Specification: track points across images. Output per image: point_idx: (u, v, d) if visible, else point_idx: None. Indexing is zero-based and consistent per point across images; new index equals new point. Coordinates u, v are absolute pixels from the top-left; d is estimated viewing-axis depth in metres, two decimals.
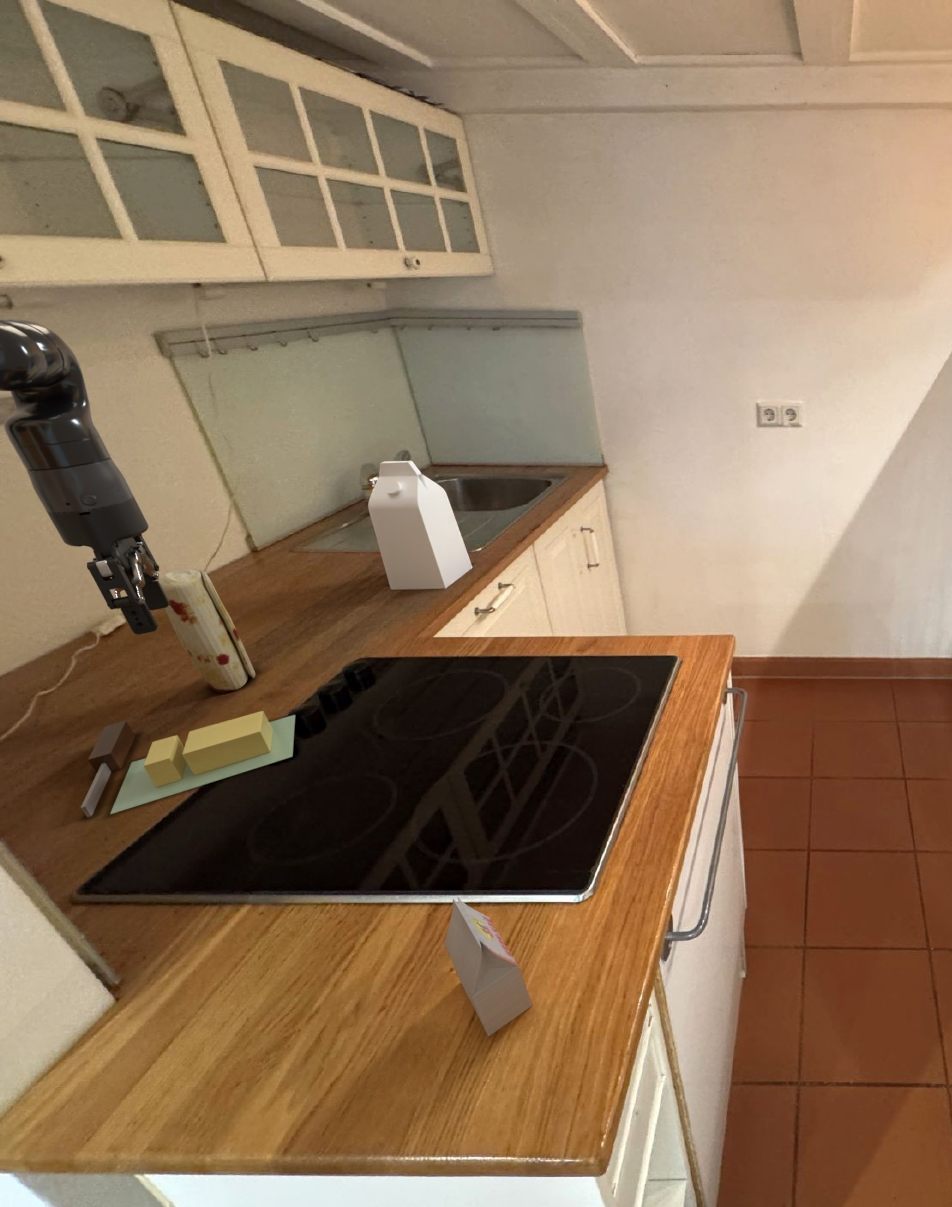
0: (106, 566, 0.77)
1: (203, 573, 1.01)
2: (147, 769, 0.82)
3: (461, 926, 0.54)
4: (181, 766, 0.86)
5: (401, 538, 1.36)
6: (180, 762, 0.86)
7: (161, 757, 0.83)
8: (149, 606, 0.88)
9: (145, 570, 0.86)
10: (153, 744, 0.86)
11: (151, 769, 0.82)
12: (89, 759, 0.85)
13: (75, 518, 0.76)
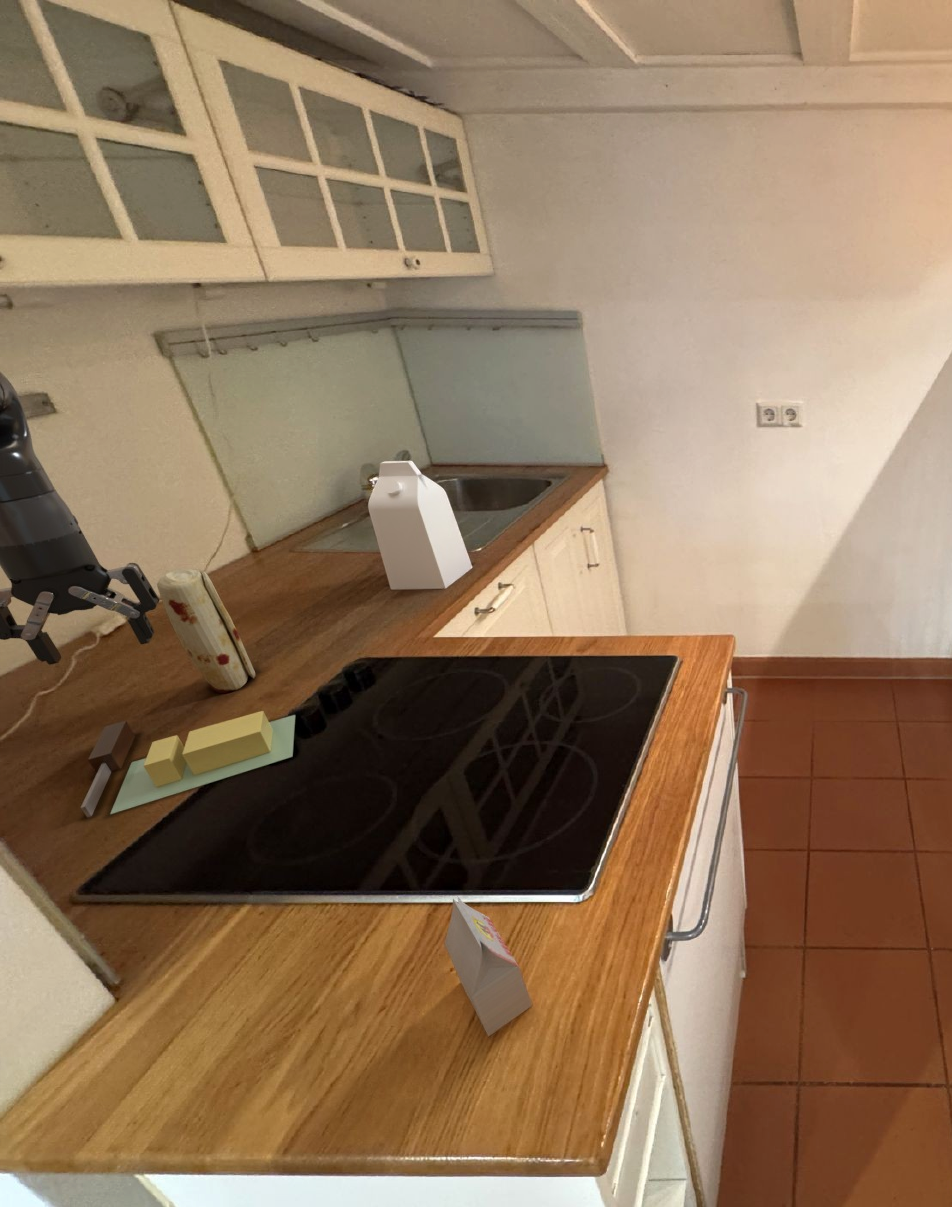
0: (137, 568, 0.84)
1: (203, 573, 1.01)
2: (147, 769, 0.82)
3: (461, 926, 0.54)
4: (181, 766, 0.86)
5: (401, 538, 1.36)
6: (180, 762, 0.86)
7: (161, 757, 0.83)
8: (55, 659, 0.82)
9: (48, 615, 0.82)
10: (153, 744, 0.86)
11: (151, 769, 0.82)
12: (89, 759, 0.85)
13: (78, 537, 0.80)
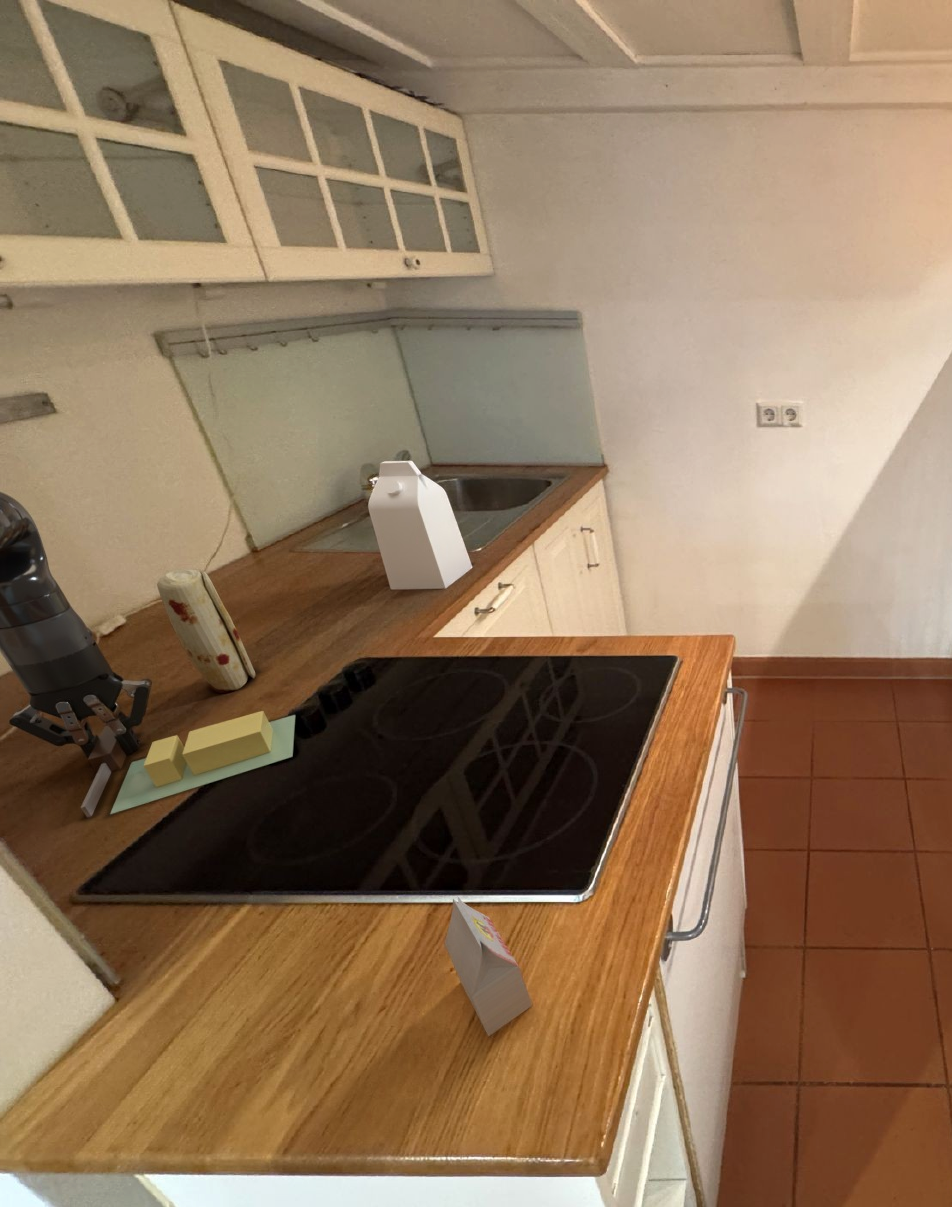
0: (150, 686, 0.90)
1: (203, 573, 1.01)
2: (147, 769, 0.82)
3: (461, 926, 0.54)
4: (181, 766, 0.86)
5: (401, 538, 1.36)
6: (180, 762, 0.86)
7: (161, 757, 0.83)
8: None
9: (85, 718, 0.87)
10: (153, 744, 0.86)
11: (151, 769, 0.82)
12: (89, 759, 0.85)
13: (92, 649, 0.84)
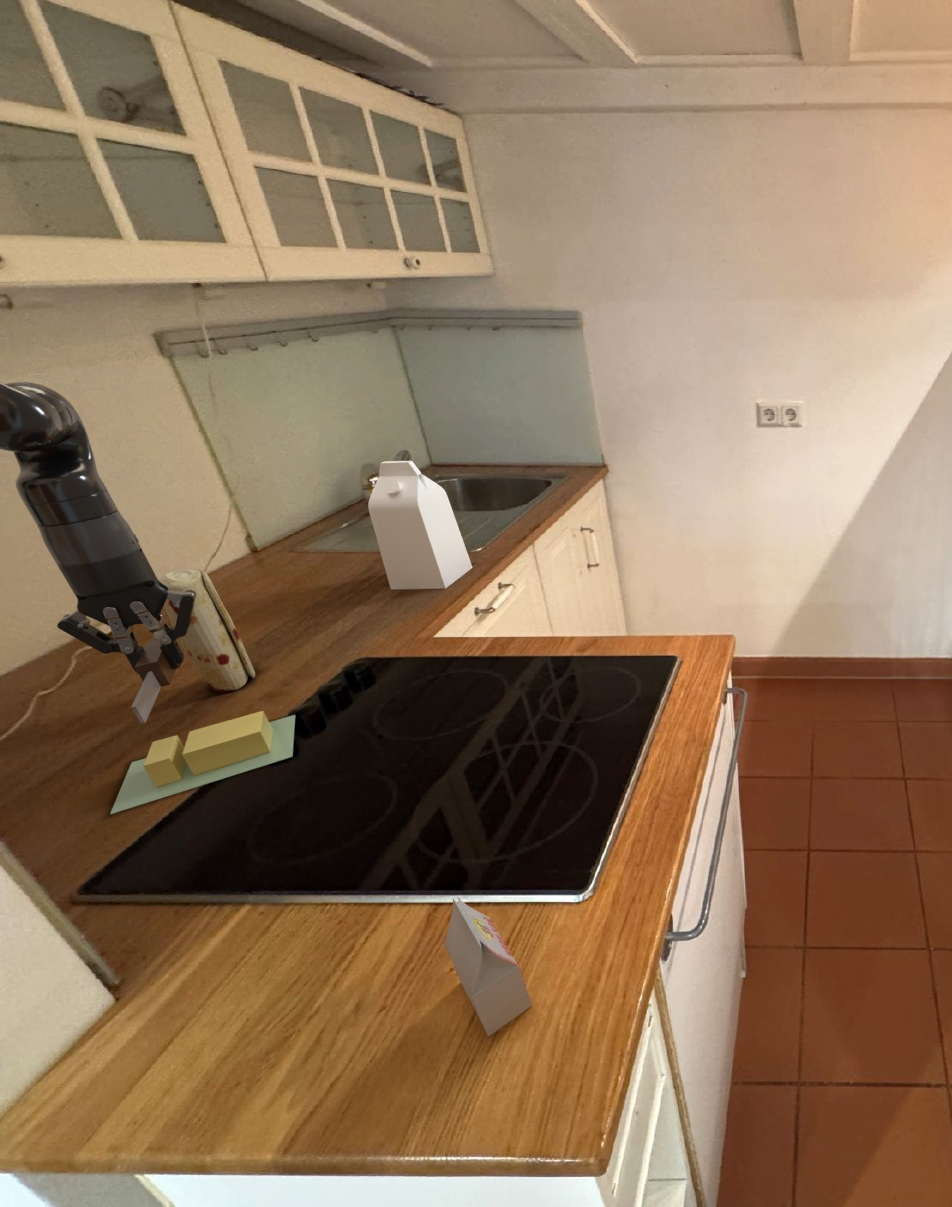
0: (194, 598, 0.89)
1: (203, 573, 1.01)
2: (147, 769, 0.82)
3: (461, 926, 0.54)
4: (181, 766, 0.86)
5: (401, 538, 1.36)
6: (180, 762, 0.86)
7: (161, 757, 0.83)
8: None
9: (131, 627, 0.87)
10: (153, 744, 0.86)
11: (151, 769, 0.82)
12: (136, 666, 0.84)
13: (139, 555, 0.83)
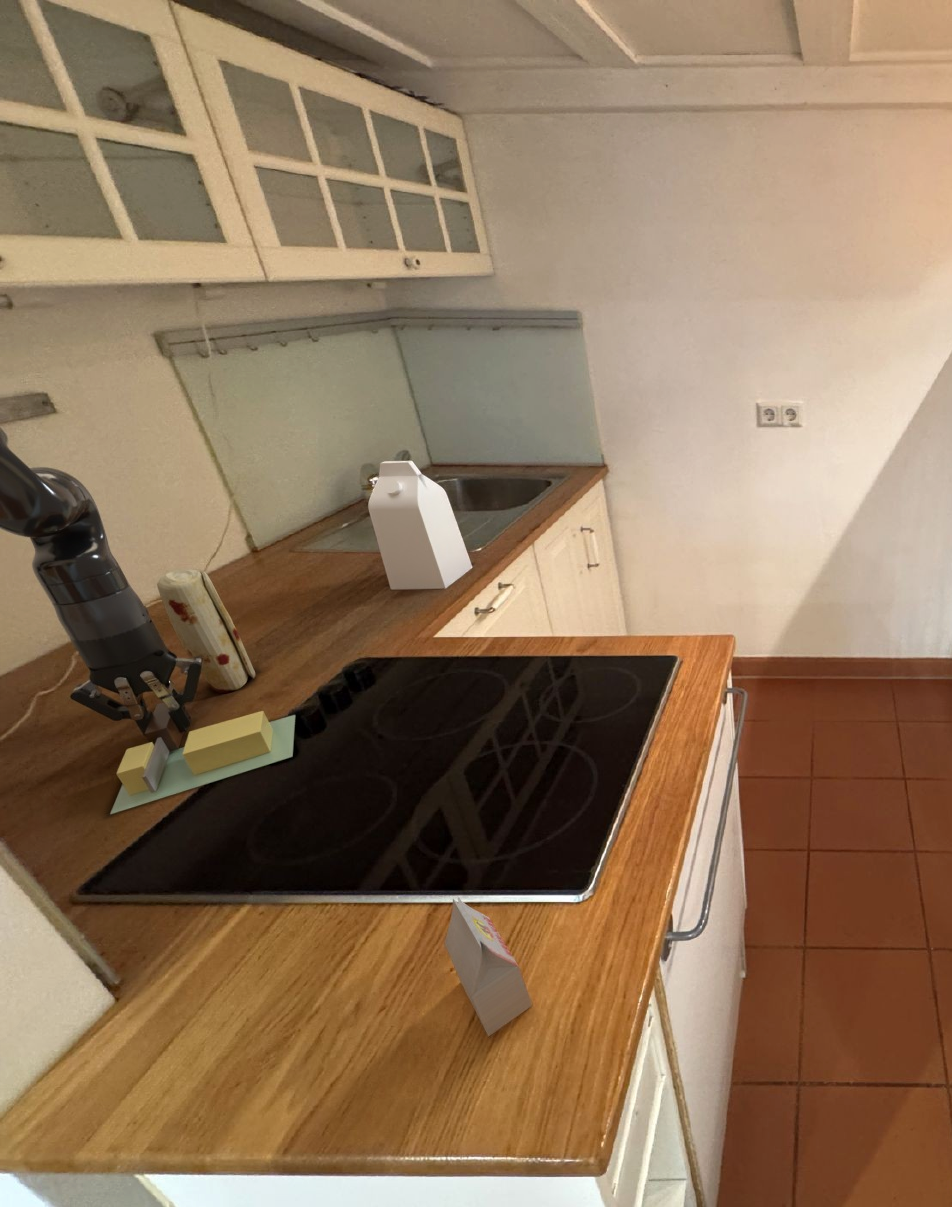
0: (202, 664, 0.92)
1: (203, 573, 1.01)
2: (120, 777, 0.81)
3: (461, 926, 0.54)
4: None
5: (401, 538, 1.36)
6: None
7: (134, 765, 0.82)
8: None
9: (140, 694, 0.90)
10: (127, 751, 0.85)
11: (124, 777, 0.81)
12: (146, 733, 0.87)
13: (149, 627, 0.86)
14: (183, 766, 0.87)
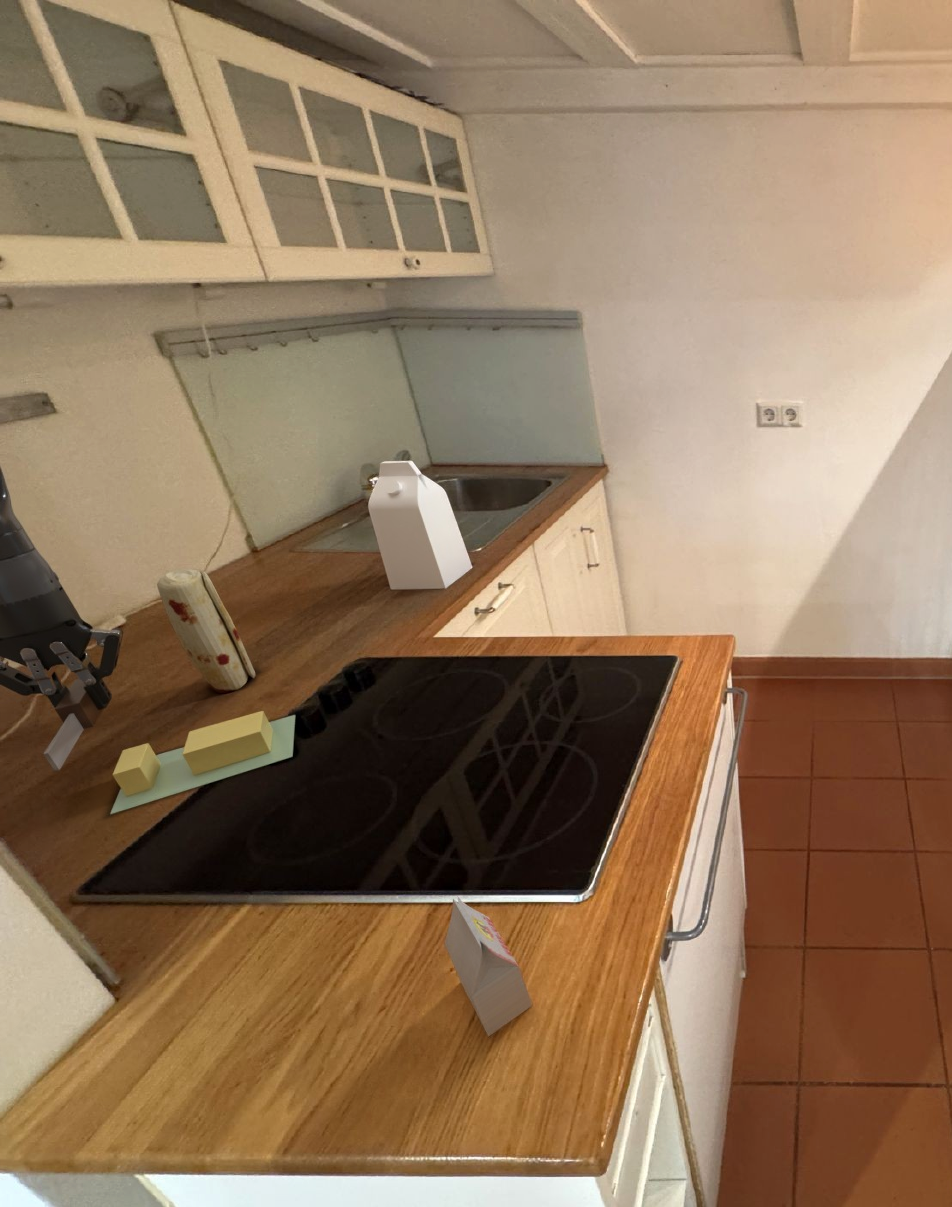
0: (121, 636, 0.86)
1: (203, 573, 1.01)
2: (116, 778, 0.81)
3: (461, 926, 0.54)
4: (152, 775, 0.84)
5: (401, 538, 1.36)
6: (151, 770, 0.84)
7: (131, 766, 0.82)
8: None
9: (53, 667, 0.84)
10: (123, 752, 0.84)
11: (120, 778, 0.81)
12: (56, 709, 0.81)
13: (59, 594, 0.81)
14: (183, 766, 0.87)
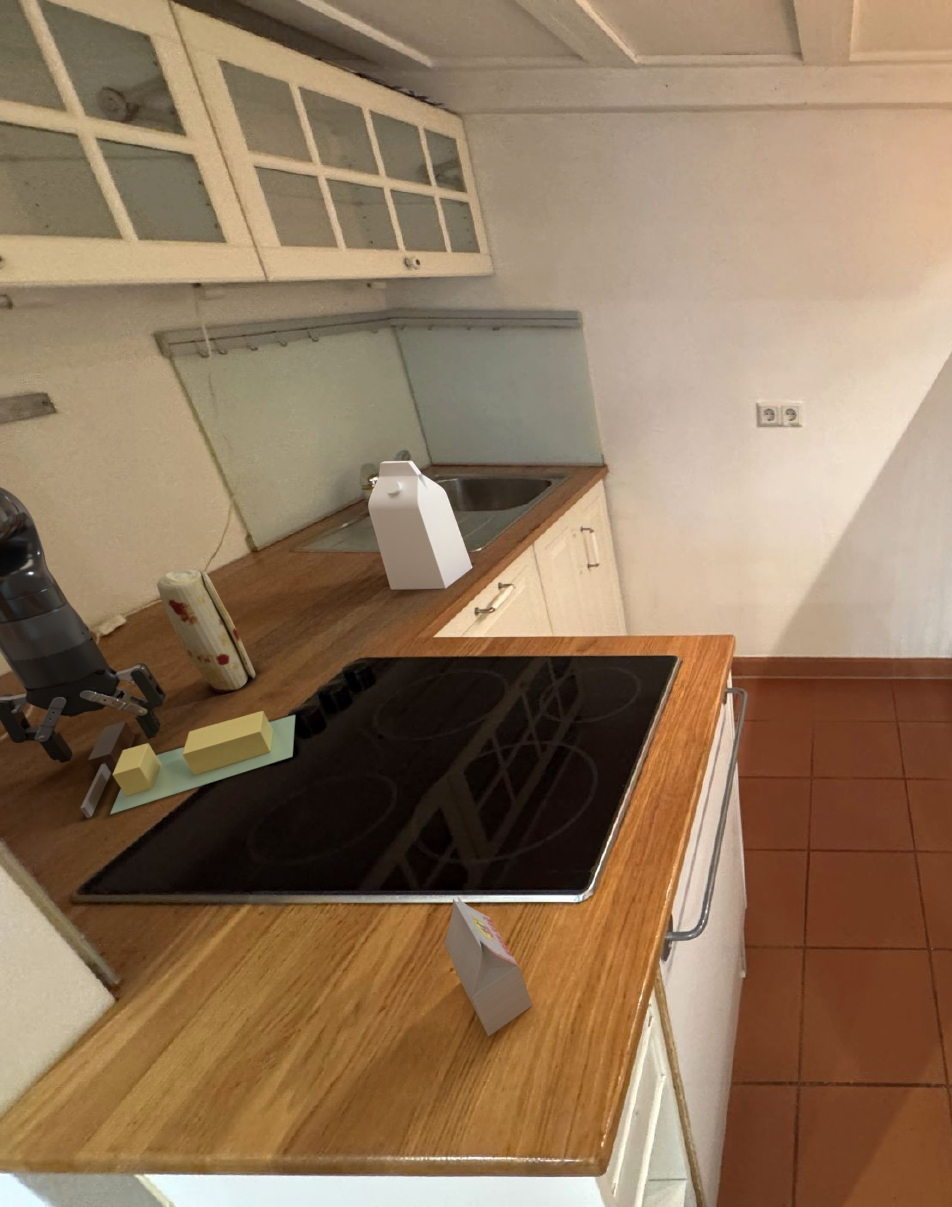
0: (145, 669, 0.89)
1: (203, 573, 1.01)
2: (116, 778, 0.81)
3: (461, 926, 0.54)
4: (152, 775, 0.84)
5: (401, 538, 1.36)
6: (151, 770, 0.84)
7: (131, 766, 0.82)
8: (67, 757, 0.86)
9: (60, 716, 0.86)
10: (123, 752, 0.84)
11: (120, 778, 0.81)
12: (89, 760, 0.85)
13: (89, 645, 0.84)
14: (183, 766, 0.87)
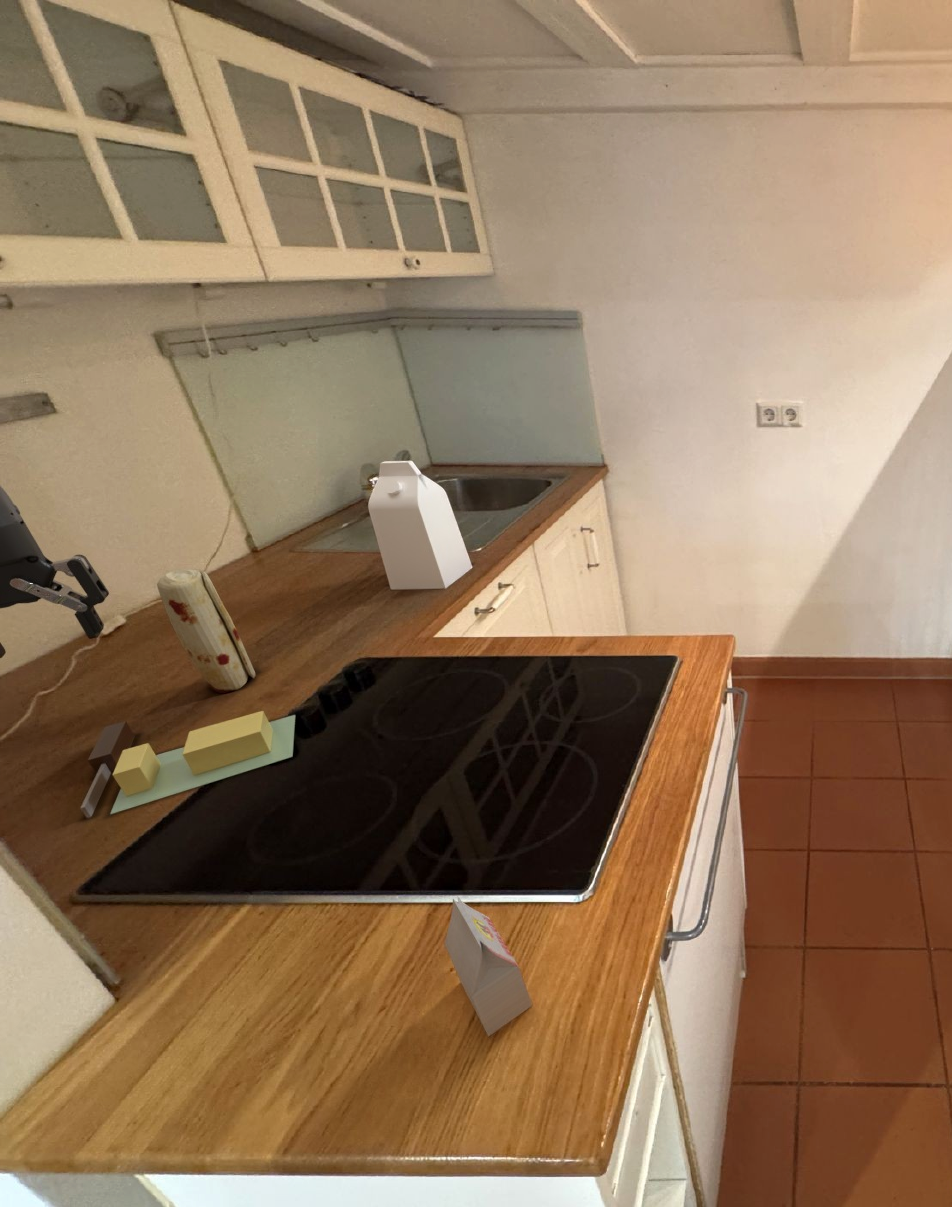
0: (84, 560, 0.82)
1: (203, 573, 1.01)
2: (116, 778, 0.81)
3: (461, 926, 0.54)
4: (152, 775, 0.84)
5: (401, 538, 1.36)
6: (151, 770, 0.84)
7: (131, 766, 0.82)
8: None
9: None
10: (123, 752, 0.84)
11: (120, 778, 0.81)
12: (89, 760, 0.85)
13: (20, 528, 0.77)
14: (183, 766, 0.87)
